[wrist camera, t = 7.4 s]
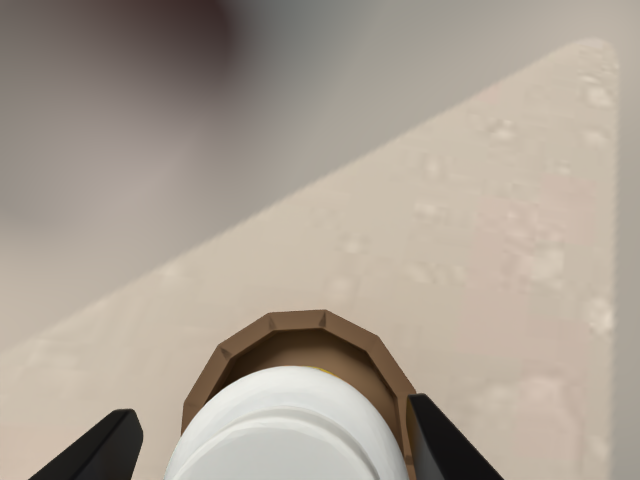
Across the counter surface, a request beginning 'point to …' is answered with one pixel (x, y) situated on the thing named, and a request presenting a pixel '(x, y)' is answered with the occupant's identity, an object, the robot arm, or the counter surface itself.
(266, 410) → the supplement bottle
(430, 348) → the counter surface
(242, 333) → the walnut tray
